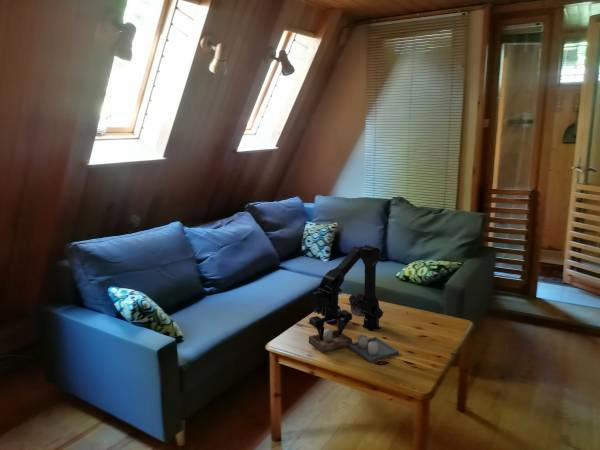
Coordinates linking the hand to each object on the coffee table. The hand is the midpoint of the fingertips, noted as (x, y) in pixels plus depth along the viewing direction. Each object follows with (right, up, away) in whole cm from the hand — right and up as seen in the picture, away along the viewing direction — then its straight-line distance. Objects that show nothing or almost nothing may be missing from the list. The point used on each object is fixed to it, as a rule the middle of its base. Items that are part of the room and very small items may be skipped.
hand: (330, 337), depth 198 cm
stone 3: (+17, -5, -9) cm, 20 cm away
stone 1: (-1, -2, +2) cm, 3 cm away
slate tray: (+18, -4, -5) cm, 19 cm away
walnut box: (0, -3, +1) cm, 3 cm away
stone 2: (+13, -3, -3) cm, 14 cm away
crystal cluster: (+19, +4, +37) cm, 42 cm away
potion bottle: (+2, +1, +23) cm, 24 cm away
